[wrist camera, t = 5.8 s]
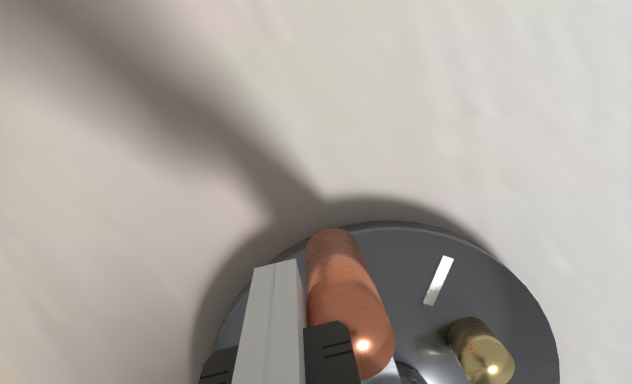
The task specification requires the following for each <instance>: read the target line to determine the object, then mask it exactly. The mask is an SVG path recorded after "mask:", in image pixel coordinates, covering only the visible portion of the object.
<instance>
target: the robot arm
mask: <svg viewBox="0 0 632 384" xmlns="http://www.w3.org/2000/svg"><path fill="white" fill-rule="evenodd" d="M198 384H361V380H360V376H359V372H358V368H357V364H356V359H355V355H354V351H353V347H352V343H351V339H350V334H349V330H348V328H347V327H346V326H345V325H344V324H342V323H341V322H340V321H339V320H337V321H332V322H328V323H324V324H320V325H316V326H311V327H309V320H308V305H307V301H306V297H305V293H304V289H303V286H302V282H301V278H300V274H299V270H298V266H297V262H296V258H295V259H291V260H287V261H283V262H278V263H274V264H270V265H266V266H261V267H257V268H254V272H253V277H252V282H251V287H250V292H249V297H248V302H247V307H246V312H245V317H244V322H243V327H242V333H241V338H240V343H239V345H237V346H233V347H229V348H224V349H220V350H216V351H215V352H214V353H213V354H212V355H211V356H210V358H209V359H208V360H207V361H206V362H205V364H204V366H203V369H202V373H201V376H200V380H199V382H198Z"/></svg>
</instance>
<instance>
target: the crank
mask: <svg viewBox="0 0 632 384" xmlns="http://www.w3.org/2000/svg"><path fill="white" fill-rule="evenodd" d="M305 270H306V287H307V303H308V320H309V327H311V326H316V325H320V324H324V323H328V322H332V321H337V320H339V321H340V322H341V323H342V324H344V325H345V326H346V327H347V328H348V330H349V334H350V339H351V343H352V347H353V351H354V355H355V359H356V364H357V368H358V372H359V376H360V380H361V384H428V383H427V381H426V380H425V379H424V378H423V377H422V376H421V375H420V374H419V373H418V372H416V371H415V370H413V369H411V368H409V367H407V366H404V365H400V364H395V362H394V359H393V354H394V351H395V342H396V340H395V334H394V330H393V328H392V325H391V323H390V320H389V318H388V316H387V313H386V311H385V308H384V306H383V303H382V301H381V299H380V296H379V294H378V291H377V289H376V286H375V284H374V281H373V279H372V277H371V274H370V272H369V269H368V267H367V264H366V262H365V259H364V257H363V255H362V252H361V250H360V247H359V245H358V242H357V241H356V239H355V238H354V237H353V236H352V235H351V234H350V233H348V232H347V231H345V230H342V229H338V228H328V229H324V230H321V231H319V232H317V233H316V234H315V235H313V236H312V237H311V239H310V240H309V241H308V243H307V245H306V248H305Z"/></svg>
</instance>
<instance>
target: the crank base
mask: <svg viewBox="0 0 632 384" xmlns="http://www.w3.org/2000/svg"><path fill="white" fill-rule="evenodd" d="M338 229H342V230H345V231H347V232H348V233H350V234H351V235H352V236H353V237H354V238H355V239H356V241H357V242H358V245H359V247H360V250H361V252H362V255H363V257H364V259H365V262H366V264H367V267H368V269H369V272H370V274H371V277H372V279H373V281H374V284H375V286H376V289H377V291H378V294H379V296H380V299H381V301H382V303H383V306H384V308H385V311H386V313H387V316H388V318H389V320H390V323H391V325H392V328H393V330H394V334H395V340H396V342H395V351H394V354H393V359H394V362H395V364H400V365H404V366H407V367H409V368H411V369H413V370H415V371H416V372H418V373H419V374H420V375H421V376H422V377H423V378H424V379H425V380H426V381H427V383H428V384H560V374H559V358H558V353H557V348H556V342H555V339H554V336H553V333H552V330H551V328H550V325H549V322H548V320H547V318H546V316H545V314H544V313H543V311H542V309H541V307H540V305H539V303H538V302H537V301H536V299H535V298H534V297H533V295H532V294H531V293H530V291H529V290H528V289H527V287H526V286H525V285H524V284H523V283H522V282H521V281H520V280H519V279H518V278H517V277H516V276H515V275H514V274H513V273H512V272H511V271H510V270H508V269H507V268H506V267H505V266H504V265H503V264H501V263H500V262H499V261H498V260H497V259H495V258H494V257H493V256H491V255H490V254H489V253H487V252H486V251H484V250H483V249H482V248H480V247H479V246H477V245H476V244H474V243H472V242H470V241H468V240H466V239H464V238H462V237H460V236H458V235H456V234H453V233H450V232H448V231H445V230H442V229H439V228H436V227H431V226H427V225H422V224H418V223H410V222H399V221H377V222H365V223H359V224H353V225H347V226H343V227H339V228H338ZM310 239H311V238H309V239H306V240H304V241H302V242H300V243H298V244H297V245H295V246H293V247H292V248H290V249H288V250H287V251H285V252H283V253H282V254H280V255H279V256H278V257H276V258H275V259H274V260H273V261H271V262H270V263H269V264H267V265H270V264H274V263H278V262H283V261H287V260H291V259H295V258H296V262H297V266H298V270H299V274H300V278H301V282H302V286H303V289H304V293H305V297H306V301H307V287H306V270H305V248H306V245H307V243H308V241H309V240H310ZM251 282H252V280H251V281H250V282H249V283H248V284H247V285H246V286H245V288H244V289H243V291H242V292H241V293H240V295H239V296H238V297H237V299H236V300H235V301H234V303H233V305H232V307H231V308H230V310H229V312H228V314H227V316H226V318H225V319H224V322H223V324H222V327H221V330H220V332H219V335H218V338H217V340H216V344H215V347H214V350H213V353H214V352H215V351H216V350H220V349H224V348H229V347H233V346H237V345H239V343H240V338H241V333H242V327H243V322H244V317H245V312H246V307H247V302H248V297H249V292H250V287H251ZM307 305H308V303H307ZM213 353H212V354H213Z"/></svg>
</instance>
